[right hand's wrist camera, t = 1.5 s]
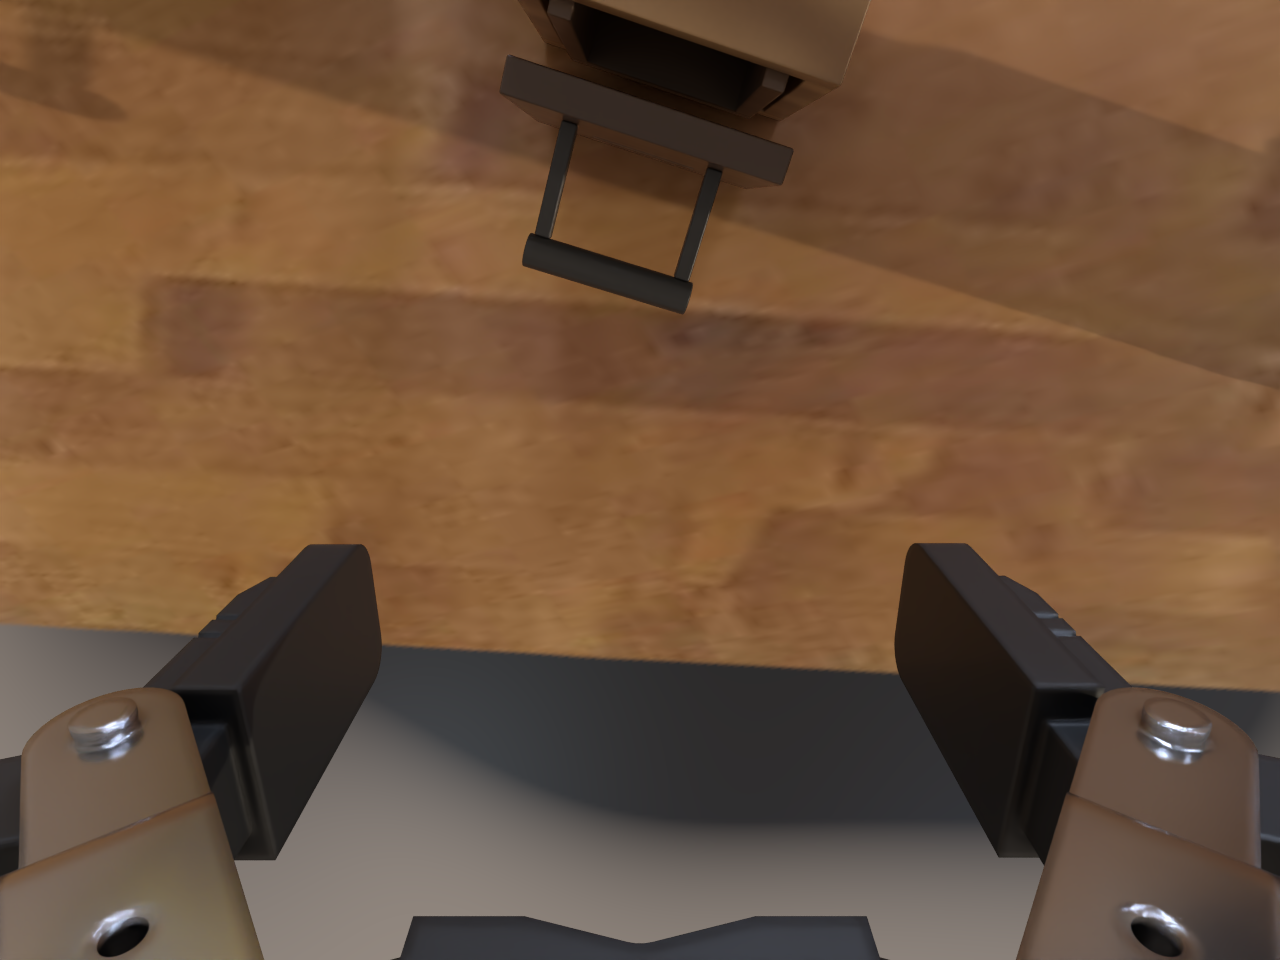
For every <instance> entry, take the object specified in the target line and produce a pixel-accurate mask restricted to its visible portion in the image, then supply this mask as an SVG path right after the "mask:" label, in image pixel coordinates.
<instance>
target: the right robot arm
mask: <svg viewBox="0 0 1280 960" xmlns="http://www.w3.org/2000/svg"><path fill="white" fill-rule="evenodd" d="M381 649H382V642H381V632H380V625H379V617H378V610H377V603H376V596H375V589H374V582H373V575H372V568H371V561H370V557H369V554H368V551H367V549H366V548H365V547H364V546H363V545H361V544H310V545H308V546H307V547H305V548H304V549H303V550H302V551H301V552H300V553H299V554H298V556H297V557H296V558H295V559H294V560H293V561H292V562H291V563H290V564H289V565H288V566H287V567H286V568H285V569H284V570H283V571H282V572H281V573H280V574H279V575H278V576H277V577H270V578H268V579H266V580H264V581H262V582H260V583H259V584H257V585H255V586H253V587H251V588H249V589H248V590H246V591H244V592H242V593H240V594H238V595H237V596H236V597H235V598H234V599H233V600H232V601H231V602H230V603H229V604H228V605H227V606H226V607H225V608H224V609H223V610H222V611H221V612H220V613H219V614H218V615H217V618H216V620H212V621H211V622H209V623H208V624H207V625H206V626H205V627H204V628H203V629H202V630H201V631H200V632H199V636H198V638H193V639H192V640H191V641H190V642H189V643H188V644H187V645H186V646H185V647H184V648H183V649H182V650H181V651H180V652H179V653H178V654H177V655H176V656H175V657H174V658H173V659H172V660H171V661H170V662H169V663H168V664H167V665H166V666H164V667H163V668H162V669H161V670H160V671H159V672H158V673H157V674H156V675H155V676H154V677H153V678H152V679H151V680H150V681H149V682H148V683H147V684H146V685H145V686H144V687H143V688H134V689H127V690H122V691H117V692H113V693H109V694H105V695H102V696H99V697H96V698H93V699H91V700H88V701H85V702H83V703H81V704H78V705H76V706H74V707H72V708H70V709H68V710H66V711H64V712H63V713H61V714H59V715H58V716H56V717H54V718H53V719H51V720H50V721H49V722H47V723H46V724H45V725H43V726H42V727H41V728H40V729H39V730H38V731H37V732H35V733H34V734H33V735H32V737H31V738H30V739H29V740H28V742H27V743H26V745H25V747H24V749H23V752H22V755H20V756H15V757H10V758H5V759H0V960H264V958H263V955H262V951H261V948H260V945H259V942H258V938H257V935H256V932H255V928H254V925H253V922H252V918H251V915H250V912H249V909H248V905H247V902H246V899H245V895H244V892H243V889H242V885H241V882H240V879H239V875H238V872H237V869H236V865H235V862H234V860H276V858H277V856H278V854H279V853H280V851H281V849H282V847H283V845H284V844H285V842H286V840H287V838H288V836H289V835H290V833H291V831H292V829H293V827H294V826H295V824H296V822H297V820H298V818H299V817H300V815H301V813H302V811H303V809H304V807H305V806H306V804H307V802H308V800H309V798H310V797H311V795H312V793H313V791H314V789H315V788H316V786H317V784H318V782H319V780H320V779H321V777H322V775H323V773H324V771H325V770H326V768H327V766H328V764H329V762H330V761H331V759H332V757H333V755H334V753H335V752H336V750H337V748H338V746H339V744H340V742H341V741H342V739H343V737H344V735H345V733H346V732H347V730H348V728H349V726H350V724H351V723H352V721H353V719H354V717H355V715H356V714H357V712H358V710H359V708H360V706H361V705H362V703H363V701H364V699H365V697H366V696H367V694H368V692H369V690H370V688H371V686H372V685H373V683H374V681H375V679H376V676H377V674H378V670H379V666H380V660H381ZM895 658H896V664H897V668H898V672H899V675H900V677H901V680H902V682H903V683H904V685H905V687H906V689H907V691H908V692H909V694H910V696H911V698H912V700H913V702H914V703H915V705H916V707H917V709H918V711H919V713H920V714H921V716H922V718H923V720H924V722H925V724H926V725H927V727H928V729H929V731H930V733H931V734H932V736H933V738H934V740H935V742H936V744H937V745H938V747H939V749H940V751H941V753H942V755H943V756H944V758H945V760H946V762H947V764H948V766H949V767H950V769H951V771H952V773H953V775H954V777H955V778H956V780H957V782H958V784H959V786H960V788H961V789H962V791H963V793H964V795H965V797H966V798H967V800H968V802H969V804H970V806H971V808H972V809H973V811H974V813H975V815H976V817H977V819H978V820H979V822H980V824H981V826H982V828H983V830H984V831H985V833H986V835H987V837H988V839H989V841H990V842H991V844H992V846H993V848H994V850H995V851H996V853H997V855H998V857H1039V858H1040V860H1041V861H1042V863H1043V864H1044V869H1043V872H1042V875H1041V879H1040V882H1039V885H1038V889H1037V892H1036V895H1035V899H1034V902H1033V905H1032V908H1031V912H1030V915H1029V919H1028V922H1027V925H1026V928H1025V932H1024V935H1023V938H1022V942H1021V945H1020V948H1019V951H1018V955H1017V958H1016V960H1280V758H1275V757H1270V756H1265V755H1260V754H1258V751H1257V749H1256V747H1255V745H1254V743H1253V742H1252V740H1251V739H1250V738H1249V737H1248V735H1247V734H1246V733H1245V732H1244V731H1242V730H1241V729H1240V728H1239V727H1238V726H1237V725H1235V724H1234V723H1233V722H1231V721H1230V720H1229V719H1227V718H1226V717H1224V716H1222V715H1221V714H1219V713H1217V712H1216V711H1214V710H1212V709H1210V708H1208V707H1206V706H1204V705H1202V704H1199V703H1197V702H1195V701H1192V700H1190V699H1187V698H1184V697H1181V696H1178V695H1175V694H1171V693H1167V692H1163V691H1158V690H1153V689H1146V688H1133V687H1132V686H1131V685H1130V684H1128V683H1127V682H1126V681H1125V680H1124V679H1123V678H1122V677H1121V676H1120V675H1119V674H1118V673H1117V672H1116V671H1115V670H1114V669H1113V668H1112V667H1111V666H1110V665H1109V664H1108V663H1107V662H1106V661H1105V660H1104V659H1103V658H1102V657H1101V656H1100V655H1099V654H1098V653H1097V652H1096V651H1095V650H1094V649H1093V648H1092V647H1091V646H1090V645H1089V644H1088V643H1087V642H1086V641H1085V640H1084V639H1083V638H1082V637H1081V636H1076V631H1075V630H1074V629H1073V628H1072V627H1071V626H1070V625H1069V624H1068V623H1067V622H1066V621H1065V620H1064V619H1063V618H1058V613H1057V612H1055V611H1054V610H1053V609H1052V608H1051V607H1050V606H1049V605H1048V604H1047V603H1046V602H1045V601H1044V600H1043V599H1042V598H1041V597H1040V596H1039V595H1038V594H1037V593H1035V592H1034V591H1032V590H1030V589H1028V588H1026V587H1024V586H1023V585H1021V584H1019V583H1017V582H1015V581H1013V580H1012V579H1010V578H1008V577H1006V576H998V575H997V574H996V573H995V572H994V571H993V570H992V569H991V568H990V567H989V565H988V564H987V563H986V562H985V561H984V560H983V559H982V558H981V557H980V556H979V555H978V554H977V553H976V552H975V551H974V550H973V549H972V548H971V547H970V546H969V545H968V544H965V543H914V544H912V545H911V546H910V548H909V550H908V552H907V555H906V560H905V566H904V573H903V580H902V588H901V595H900V602H899V609H898V617H897V624H896V631H895ZM392 960H888V959H884V958H880V957H879V954H878V951H877V948H876V944H875V941H874V938H873V935H872V932H871V929H870V925H869V922H868V919H867V917H866V916H755V917H751V918H747V919H743V920H739V921H735V922H731V923H727V924H723V925H719V926H715V927H711V928H707V929H703V930H699V931H695V932H691V933H687V934H683V935H679V936H675V937H671V938H667V939H663V940H659V941H655V942H650V943H630V942H625V941H621V940H617V939H613V938H609V937H605V936H601V935H597V934H593V933H589V932H585V931H581V930H577V929H573V928H569V927H565V926H561V925H557V924H553V923H549V922H545V921H541V920H537V919H533V918H529V917H525V916H414V917H413V919H412V922H411V926H410V929H409V932H408V935H407V938H406V941H405V944H404V948H403V951H402V954H401V957H400V958H396V959H392Z"/></svg>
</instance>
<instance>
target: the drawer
mask: <svg viewBox="0 0 1280 960" xmlns="http://www.w3.org/2000/svg"><path fill="white" fill-rule="evenodd" d="M547 14H548V15H549V17H550V19H551V21H552V23H553V25H554V27H555V29H556V31H557V33H558V35H559V37H560V39H561V40H562V42H563V44H564V46H565V48H566V50H567V52H568V54H569V56H570V57H571V59H572V60H574V61H577V62H580V63H583V64H586V65H589V66H592V67H595V68H598V69H600V70H603V71H606V72H609V73H612V74H615V75H618V76H621V77H624V78H627V79H630V80H633V81H636V82H639V83H642V84H645V85H648V86H651V87H654V88H657V89H660V90H663V91H666V92H669V93H672V94H675V95H678V96H681V97H684V98H687V99H690V100H693V101H696V102H699V103H702V104H705V105H708V106H711V107H714V108H717V109H720V110H723V111H726V112H729V113H732V114H735V115H738V116H741V117H744V118H747V119H750V118H751V117H752V116H754V115H755V114H756V113H758V112H759V111H760V110H761V109H763V108H764V107H765V106H767V105H768V104H769V103H771V102H772V101H773V100H774V99H776V98H777V97H778V96H780V95H781V94H782V93H783V92H784V90H785V87H786V84H787V81H788V78H789V75H788V74H785V73H782V72H779V71H776V70H773V69H770V68H767V67H764V66H761V65H759V64H756V63H753V62H750V61H747V60H744V59H741V58H738V57H735V56H732V55H729V54H726V53H723V52H720V51H718V50H715V49H712V48H709V47H706V46H703V45H700V44H697V43H694V42H691V41H688V40H685V39H682V38H679V37H677V36H674V35H671V34H668V33H665V32H662V31H659V30H656V29H653V28H650V27H647V26H644V25H641V24H639V23H636V22H633V21H630V20H627V19H624V18H621V17H618V16H615V15H612V14H609V13H606V12H603V11H600V10H598V9H595V8H592V7H589V6H586V5H583V4H580V3H577V2H574V1H571V0H550V1H549V5H548V10H547ZM500 94H502V95H503V96H504V97H506V98H507V99H508V100H510V101H511V102H512V103H514V104H515V105H516V106H518V107H519V108H521V109H522V110H523V111H525V112H526V113H527V114H529V115H530V116H531V117H533V118H534V119H535V120H537V121H538V122H541V123H544V124H547V125H550V126H554V127H557V128H560V129H559V133H558V137H557V142H556V146H555V150H554V154H553V159H552V163H551V167H550V171H549V176H548V180H547V184H546V188H545V193H544V197H543V201H542V205H541V210H540V214H539V218H538V222H537V226H536V231H535V234H533V233H530V235H529V236H528V239H527V242H526V245H525V249H524V254H523V260H522V264H523V266H525V267H528V268H532V269H535V270H538V271H542V272H545V273H548V274H551V275H555V276H558V277H561V278H565V279H568V280H571V281H574V282H578V283H581V284H584V285H588V286H591V287H594V288H597V289H601V290H604V291H607V292H610V293H614V294H617V295H620V296H624V297H627V298H630V299H633V300H637V301H640V302H643V303H647V304H650V305H653V306H656V307H660V308H663V309H666V310H670V311H673V312H676V313H679V314H684V313H685V311H686V308H687V305H688V302H689V299H690V296H691V292H692V288H693V283H692V282H688V281H689V279H690V276H691V273H692V270H693V267H694V263H695V260H696V257H697V254H698V251H699V247H700V244H701V241H702V238H703V235H704V231H705V228H706V225H707V222H708V218H709V215H710V212H711V209H712V206H713V202H714V199H715V196H716V193H717V190H718V186H719V183H720V181H723V182H726V183H729V184H732V185H735V186H739V187H742V188H745V189H750V188H759V187H768V186H777V185H782V184H783V181H784V178H785V175H786V172H787V169H788V166H789V163H790V160H791V157H792V155H793V152H794V151H793V149H792V148H790V147H787V146H784V145H781V144H777V143H774V142H771V141H768V140H765V139H762V138H759V137H756V136H753V135H750V134H747V133H744V132H741V131H738V130H735V129H732V128H729V127H726V126H723V125H720V124H717V123H714V122H711V121H708V120H705V119H702V118H699V117H696V116H693V115H690V114H687V113H684V112H681V111H678V110H675V109H672V108H669V107H666V106H663V105H660V104H657V103H654V102H651V101H648V100H645V99H642V98H639V97H636V96H633V95H630V94H627V93H624V92H621V91H618V90H615V89H612V88H609V87H606V86H603V85H600V84H597V83H594V82H591V81H588V80H585V79H582V78H579V77H576V76H573V75H570V74H567V73H563V72H560V71H557V70H554V69H551V68H548V67H545V66H542V65H539V64H536V63H533V62H530V61H527V60H524V59H521V58H518V57H515V56H512V55H507V58H506V63H505V67H504V72H503V77H502V82H501V87H500ZM577 134H578V135H581V136H584V137H587V138H591V139H594V140H597V141H600V142H603V143H606V144H609V145H612V146H615V147H618V148H621V149H624V150H628V151H631V152H634V153H637V154H640V155H643V156H646V157H649V158H652V159H655V160H658V161H661V162H665V163H668V164H671V165H674V166H677V167H680V168H683V169H686V170H689V171H692V172H695V173H698V174H702V175H704V178H703V181H702V185H701V188H700V191H699V195H698V198H697V201H696V204H695V208H694V211H693V214H692V218H691V221H690V224H689V227H688V231H687V234H686V237H685V241H684V244H683V247H682V251H681V254H680V257H679V260H678V264H677V267H676V270H675V274H674V277H672V276H669V275H666V274H663V273H659V272H656V271H653V270H650V269H646V268H643V267H640V266H637V265H633V264H630V263H627V262H624V261H621V260H617V259H614V258H611V257H608V256H604V255H601V254H598V253H595V252H591V251H588V250H585V249H582V248H579V247H575V246H572V245H569V244H566V243H562V242H559V241H556V240H553V239H549V238H551V237H552V233H553V229H554V225H555V221H556V217H557V213H558V209H559V204H560V200H561V196H562V192H563V188H564V184H565V180H566V176H567V172H568V168H569V163H570V159H571V155H572V151H573V147H574V143H575V139H576V135H577Z"/></svg>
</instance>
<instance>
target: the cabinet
mask: <svg viewBox="0 0 1280 960" xmlns="http://www.w3.org/2000/svg"><path fill="white" fill-rule="evenodd" d="M518 1H519V2H520V4H521V5H522V7H523V9H524V10H525V12H526V13H527V15H528V16H529V18H530V20H531V21H532V23H533V24H534V26H535V28H536V29H537V31H538V32H539V34H540V35H541V37H542V39H543V41H544V42H545V43H548V44H551V45H554V46H557V47H560V48H563V49H566V48H565V46H564V44H563V42H562V40H561V39H560V37H559V35H558V33H557V31H556V29H555V27H554V25H553V23H552V21H551V19H550V17H549V15H548V14H547V10H548V5H549V1H550V0H518ZM571 1H574V2H577V3H580V4H583V5H586V6H589V7H592V8H595V9H598V10H600V11H603V12H606V13H609V14H612V15H615V16H618V17H621V18H624V19H627V20H630V21H633V22H636V23H639V24H641V25H644V26H647V27H650V28H653V29H656V30H659V31H662V32H665V33H668V34H671V35H674V36H677V37H679V38H682V39H685V40H688V41H691V42H694V43H697V44H700V45H703V46H706V47H709V48H712V49H715V50H718V51H720V52H723V53H726V54H729V55H732V56H735V57H738V58H741V59H744V60H747V61H750V62H753V63H756V64H759V65H761V66H764V67H767V68H770V69H773V70H776V71H779V72H782V73H785V74H788V75H789V78H788V81H787V84H786V87H785V90H784V92H783V93H782V94H781V95H780V96H778V97H777V98H776V99H774V100H773V101H772V102H771V103H769V104H768V105H767V106H765V107H764V108H763V109H761V110H760V111H759V112H758V113H757V114H760V115H763V116H766V117H769V118H772V119H775V120H778V121H781V120H783V119H784V118H786V117H788V116H790V115H791V114H793V113H795V112H796V111H798V110H800V109H801V108H803V107H805V106H807V105H808V104H810V103H812V102H813V101H815V100H817V99H819V98H820V97H822V96H824V95H825V94H827V93H829V92H831V91H832V90H834V89H836V88H837V87H839V86H841V84H842V82H843V79H844V76H845V73H846V70H847V67H848V64H849V62H850V59H851V56H852V53H853V50H854V47H855V44H856V42H857V39H858V36H859V33H860V30H861V27H862V24H863V22H864V19H865V16H866V13H867V10H868V7H869V4H870V2H871V0H571Z"/></svg>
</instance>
